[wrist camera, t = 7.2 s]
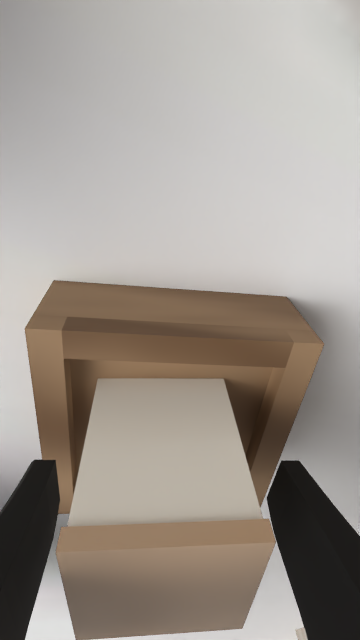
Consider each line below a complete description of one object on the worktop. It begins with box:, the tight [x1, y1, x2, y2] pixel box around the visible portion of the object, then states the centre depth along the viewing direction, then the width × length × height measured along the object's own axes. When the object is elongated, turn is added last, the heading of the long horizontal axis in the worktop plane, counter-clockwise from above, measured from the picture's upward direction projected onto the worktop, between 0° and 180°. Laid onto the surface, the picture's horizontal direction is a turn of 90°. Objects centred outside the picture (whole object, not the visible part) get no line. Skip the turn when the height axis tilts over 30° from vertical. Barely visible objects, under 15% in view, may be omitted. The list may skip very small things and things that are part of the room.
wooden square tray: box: [25, 280, 324, 514], centre depth 14 cm, size 9×9×4 cm
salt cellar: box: [56, 378, 276, 640], centre depth 11 cm, size 5×5×6 cm
